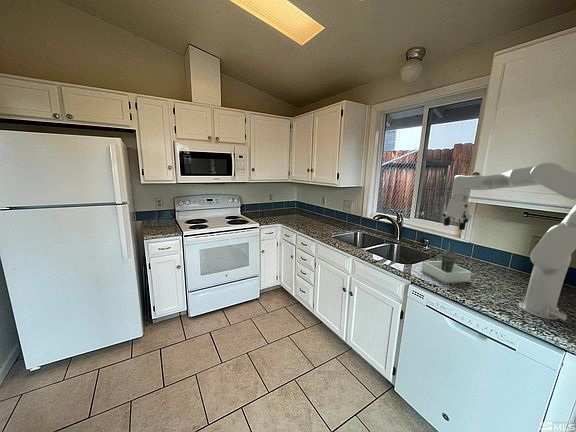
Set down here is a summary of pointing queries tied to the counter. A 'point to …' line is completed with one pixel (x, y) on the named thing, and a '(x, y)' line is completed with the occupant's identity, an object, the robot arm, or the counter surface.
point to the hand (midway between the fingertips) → (453, 227)
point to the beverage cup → (448, 260)
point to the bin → (454, 277)
